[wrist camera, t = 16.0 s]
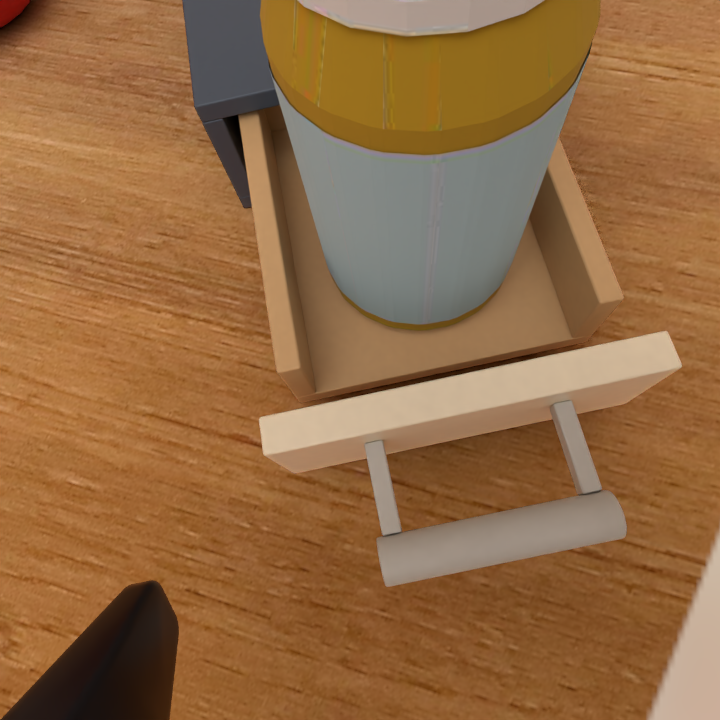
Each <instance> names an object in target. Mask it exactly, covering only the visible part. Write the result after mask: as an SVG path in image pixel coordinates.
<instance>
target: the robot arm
mask: <svg viewBox="0 0 720 720" xmlns="http://www.w3.org/2000/svg"><path fill="white" fill-rule="evenodd" d="M178 635H179V626H178V620H177V617H176V615H175V613H174V611H173V609H172V607H171V605H170V603H169V601H168V598H167V596H166V594H165V592H164V590H163V588H162V587H161V585H160V584H159V583H158V582H157V581H153V580H151V581H146V582H141V583H136V584H131V585H129V586H127V587H126V588H125V589H124V590H122V592H121V593H120V594H119V595H118V596H117V597H116V598H115V599H114V600H113V601H112V602H111V603H110V604H109V605H108V606H107V607H106V608H105V610H104V611H103V612H102V613H101V614H100V615H99V616H98V617H97V618H96V619H95V620H94V621H93V622H92V623H91V624H90V625H89V627H88V628H87V629H86V630H85V631H84V632H83V633H82V634H81V635H80V636H79V637H78V638H77V639H76V640H75V641H74V642H73V643H72V645H71V646H70V647H69V648H68V649H67V650H66V651H65V652H64V653H63V654H62V655H61V656H60V657H59V658H58V659H57V660H56V661H55V663H54V664H53V665H52V666H51V667H50V668H49V669H48V670H47V671H46V672H45V673H44V674H43V675H42V676H41V677H40V678H39V680H38V681H37V682H36V683H35V684H34V685H33V686H32V687H31V688H30V689H29V690H28V691H27V692H26V693H25V694H24V695H23V696H22V698H21V699H20V700H19V701H18V702H17V703H16V704H15V705H14V706H13V707H12V708H11V709H10V710H9V711H8V712H7V713H6V715H5V716H4V717H3V718H2V719H1V720H169V719H170V709H171V700H172V691H173V682H174V672H175V663H176V654H177V645H178Z"/></svg>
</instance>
